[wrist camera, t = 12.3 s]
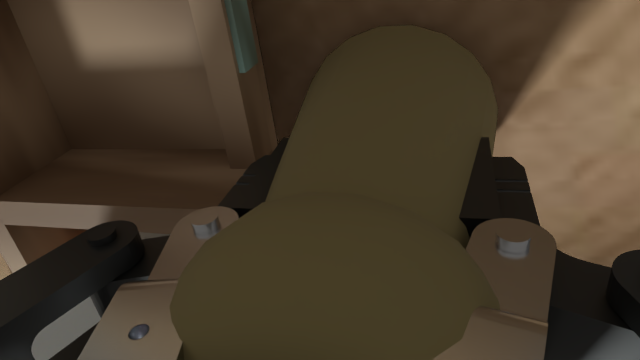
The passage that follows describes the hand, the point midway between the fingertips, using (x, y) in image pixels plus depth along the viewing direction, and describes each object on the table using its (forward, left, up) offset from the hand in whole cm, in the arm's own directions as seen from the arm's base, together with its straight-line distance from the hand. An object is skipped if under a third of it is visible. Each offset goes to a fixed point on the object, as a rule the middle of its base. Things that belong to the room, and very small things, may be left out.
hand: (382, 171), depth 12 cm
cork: (0, 0, -4) cm, 4 cm away
